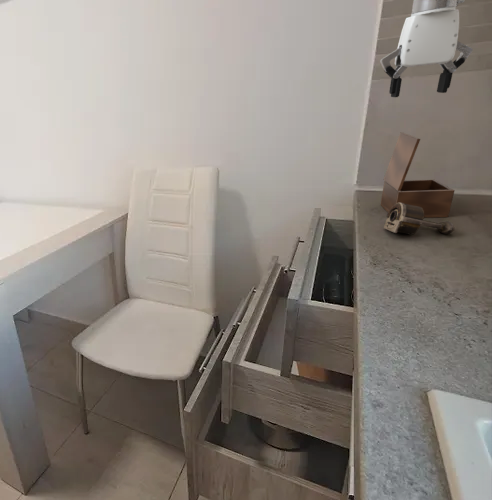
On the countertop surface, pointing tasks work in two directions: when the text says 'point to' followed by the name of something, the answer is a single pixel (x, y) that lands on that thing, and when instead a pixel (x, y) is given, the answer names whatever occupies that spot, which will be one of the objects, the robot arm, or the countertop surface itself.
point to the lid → (401, 160)
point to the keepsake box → (420, 196)
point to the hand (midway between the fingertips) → (417, 94)
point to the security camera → (412, 220)
